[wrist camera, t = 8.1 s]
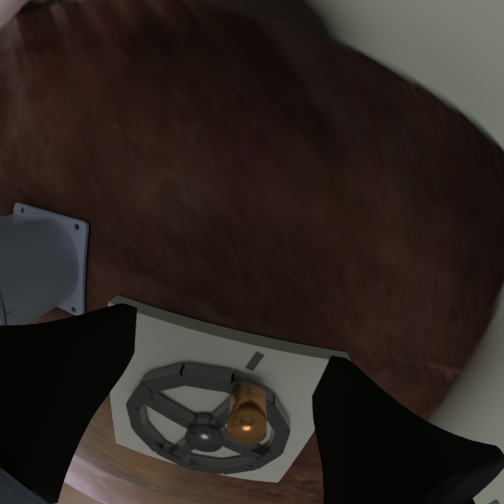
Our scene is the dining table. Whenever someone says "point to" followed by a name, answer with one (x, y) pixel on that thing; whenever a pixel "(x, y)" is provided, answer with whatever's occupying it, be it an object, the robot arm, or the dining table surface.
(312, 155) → the dining table surface
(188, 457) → the handwheel
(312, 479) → the dining table surface
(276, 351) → the base plate
